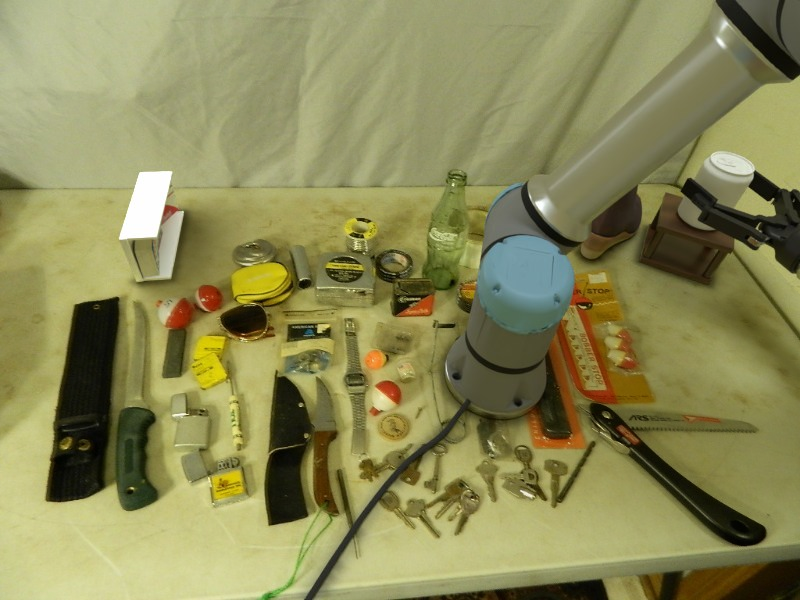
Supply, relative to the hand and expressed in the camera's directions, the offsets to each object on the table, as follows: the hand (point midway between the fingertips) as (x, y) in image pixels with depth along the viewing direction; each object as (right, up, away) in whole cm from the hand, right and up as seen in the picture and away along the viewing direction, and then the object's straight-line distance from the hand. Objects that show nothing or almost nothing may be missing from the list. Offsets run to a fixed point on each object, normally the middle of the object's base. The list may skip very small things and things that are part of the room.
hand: (715, 179), depth 93 cm
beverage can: (0, -6, +5) cm, 8 cm away
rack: (-1, -12, +12) cm, 17 cm away
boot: (-13, -8, +15) cm, 21 cm away
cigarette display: (-99, -11, +4) cm, 100 cm away
